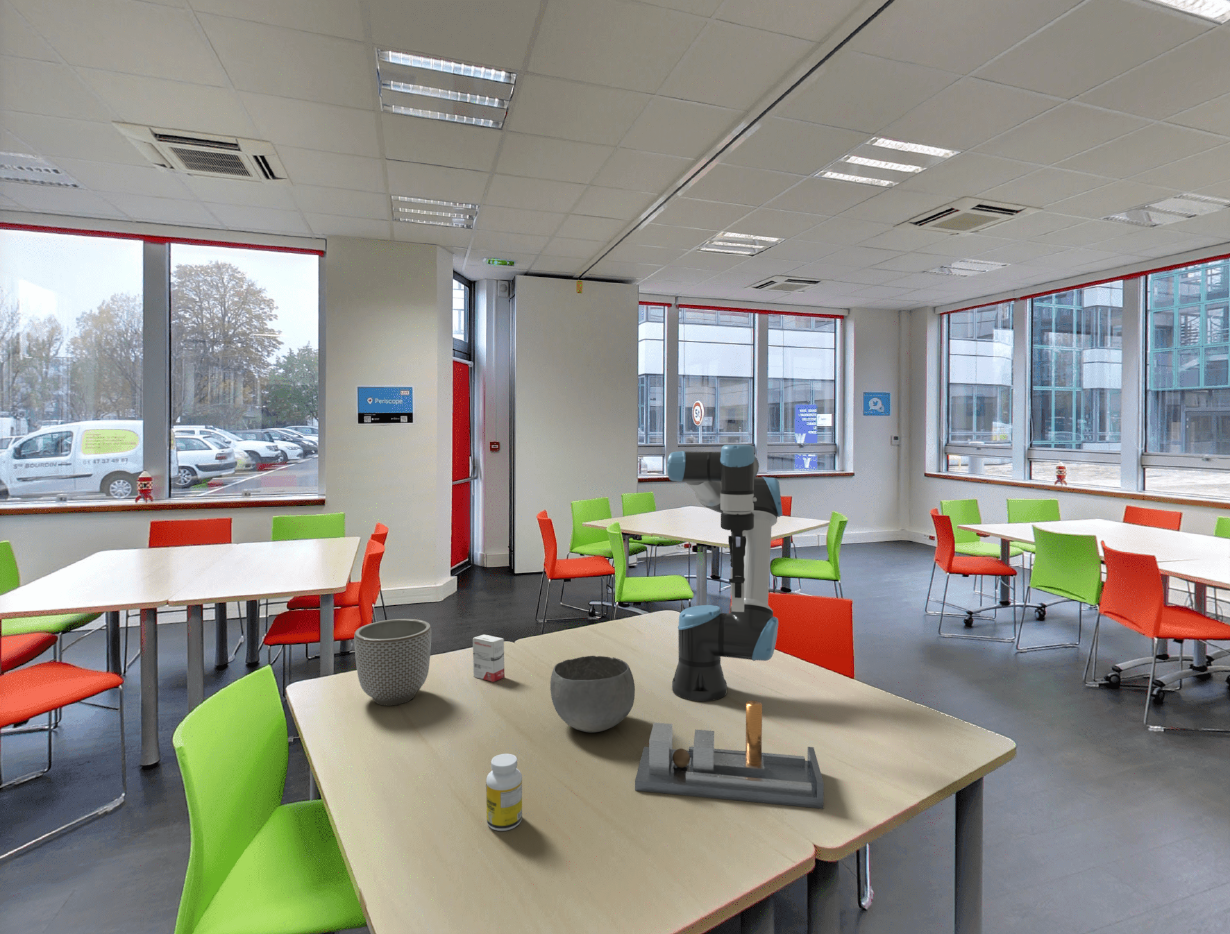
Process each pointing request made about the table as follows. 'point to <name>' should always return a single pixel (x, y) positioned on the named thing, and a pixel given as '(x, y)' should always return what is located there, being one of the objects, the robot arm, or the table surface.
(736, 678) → the table surface
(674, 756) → the walnut
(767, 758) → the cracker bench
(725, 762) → the ram handle
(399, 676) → the planter
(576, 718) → the bowl
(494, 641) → the ink box
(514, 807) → the pill bottle
